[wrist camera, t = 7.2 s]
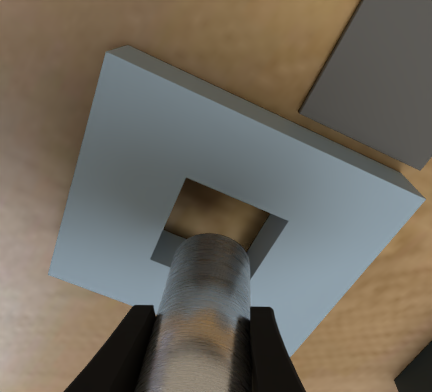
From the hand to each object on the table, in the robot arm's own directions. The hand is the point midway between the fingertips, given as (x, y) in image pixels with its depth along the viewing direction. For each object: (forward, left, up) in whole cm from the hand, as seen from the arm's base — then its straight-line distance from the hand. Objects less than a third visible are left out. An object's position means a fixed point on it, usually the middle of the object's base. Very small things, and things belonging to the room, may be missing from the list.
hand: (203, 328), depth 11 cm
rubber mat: (+4, +9, -7) cm, 12 cm away
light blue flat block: (0, 0, -7) cm, 7 cm away
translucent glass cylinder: (0, 0, -3) cm, 3 cm away
